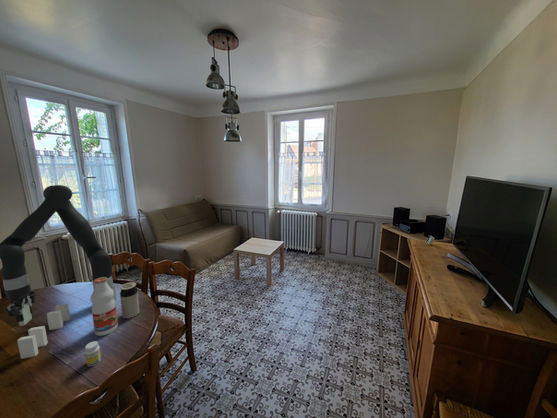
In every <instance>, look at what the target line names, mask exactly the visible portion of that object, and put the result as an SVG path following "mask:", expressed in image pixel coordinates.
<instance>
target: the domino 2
mask: <svg viewBox="0 0 557 418" xmlns="http://www.w3.org/2000/svg"><path fill="white" fill-rule="evenodd" d="M17 346H18V350H19V356H20V359H21V360H22V359H28V358H33V357H37V355H38V354H39V347H37V342H36V337H35V335H32V336H29V335H27V336H21V337H19V339H17Z"/></svg>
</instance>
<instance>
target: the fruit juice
mask: <svg viewBox="0 0 557 418" xmlns="http://www.w3.org/2000/svg"><path fill="white" fill-rule="evenodd" d="M94 284H95V288H94V289H93V291H92V293H91V295H90V301H91V303H92V305H91V312H92V313H91V315H92V321H93V330H94V334H95V335H96V336H99V337H101V336H107V335H109V334H111V333H113V332H114V331H115V330H117V329H118V326H119V320H118V313H117V304H116V303H117V302H116V301H115V300H114V298H113V297H114V291H113V290H112V289H111V288H110V287H109V285H108V284H107V278H106V277H101V278H97V279H95V280H94Z"/></svg>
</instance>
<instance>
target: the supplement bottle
mask: <svg viewBox="0 0 557 418" xmlns="http://www.w3.org/2000/svg"><path fill="white" fill-rule="evenodd" d="M84 350H85V351H84V356H85V361H86V366H87V367H93V366H96V365H97V364H99V363H100V361H101V360H102V355H101V354H102V353H101V346H100V345H99V342H98V341H97V340H95V341H91V342H89V343H87V344H86V345H85V347H84Z"/></svg>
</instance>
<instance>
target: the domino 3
mask: <svg viewBox="0 0 557 418" xmlns="http://www.w3.org/2000/svg"><path fill="white" fill-rule="evenodd" d="M27 332H28V336H32V335H35V337H36V342H37V348H41V347H45V346H47V345H48V343H49V342H48V337H47V331H46V326H45V325H41V326H37V327H36V326H35V327H31V328H29V329H28V331H27Z"/></svg>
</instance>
